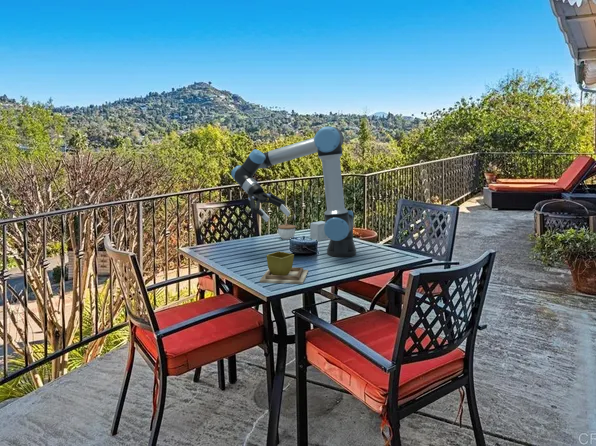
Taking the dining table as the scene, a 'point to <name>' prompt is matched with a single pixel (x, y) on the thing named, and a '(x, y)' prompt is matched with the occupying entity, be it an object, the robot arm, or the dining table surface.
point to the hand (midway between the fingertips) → (278, 217)
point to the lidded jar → (286, 231)
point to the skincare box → (317, 230)
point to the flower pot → (280, 263)
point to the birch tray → (286, 277)
